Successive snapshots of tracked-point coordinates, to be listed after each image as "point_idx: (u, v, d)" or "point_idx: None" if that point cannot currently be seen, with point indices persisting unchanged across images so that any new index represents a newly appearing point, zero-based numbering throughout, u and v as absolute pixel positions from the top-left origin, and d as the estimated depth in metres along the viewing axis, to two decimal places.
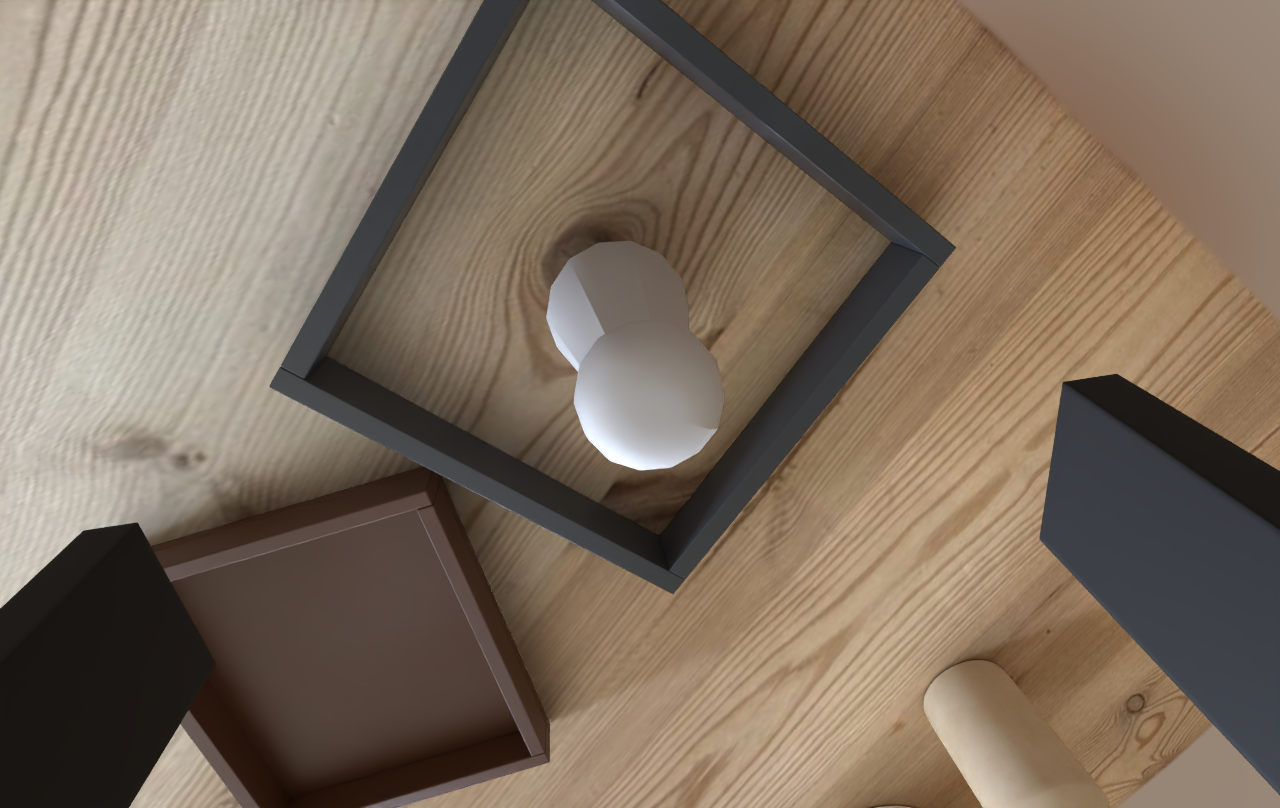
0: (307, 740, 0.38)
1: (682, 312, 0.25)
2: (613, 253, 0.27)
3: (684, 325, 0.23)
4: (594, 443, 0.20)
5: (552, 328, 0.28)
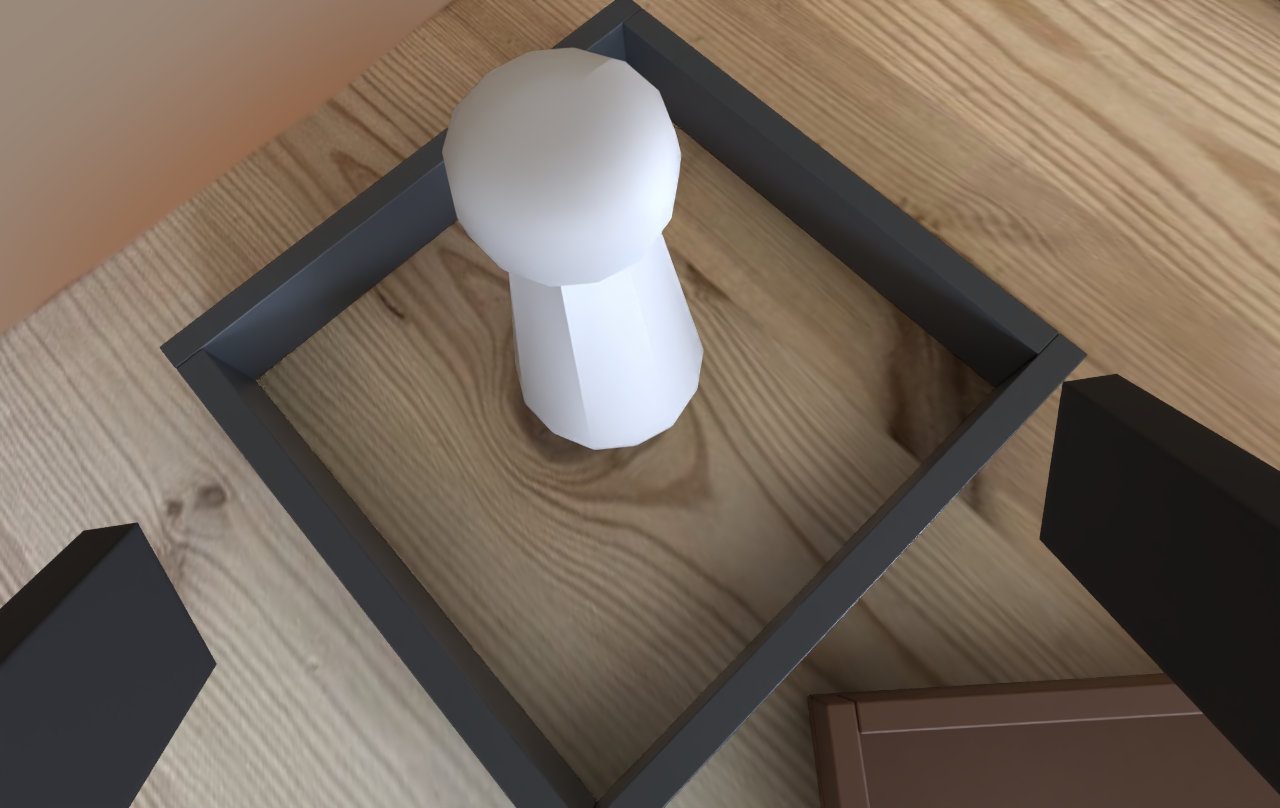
0: None
1: None
2: None
3: None
4: (595, 228, 0.12)
5: (597, 433, 0.20)
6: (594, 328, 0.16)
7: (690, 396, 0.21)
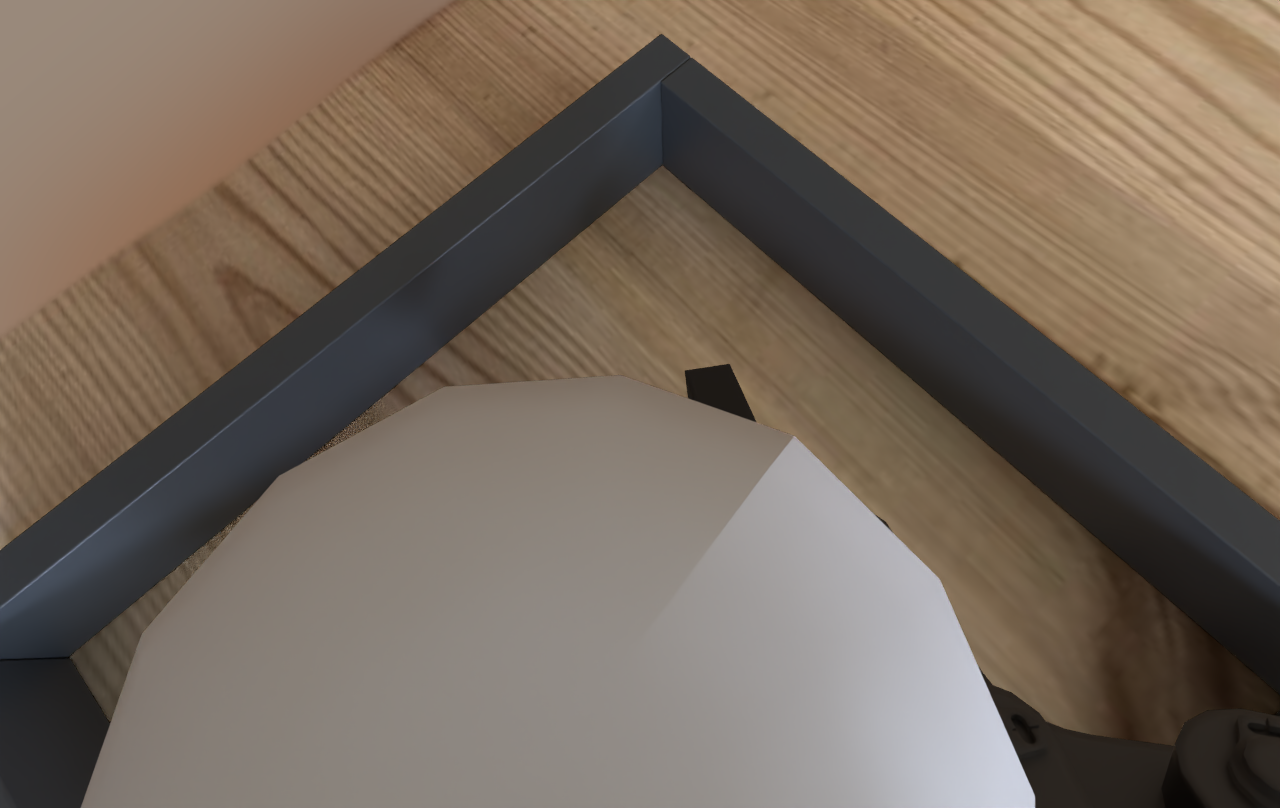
0: None
1: None
2: None
3: None
4: None
5: None
6: None
7: None
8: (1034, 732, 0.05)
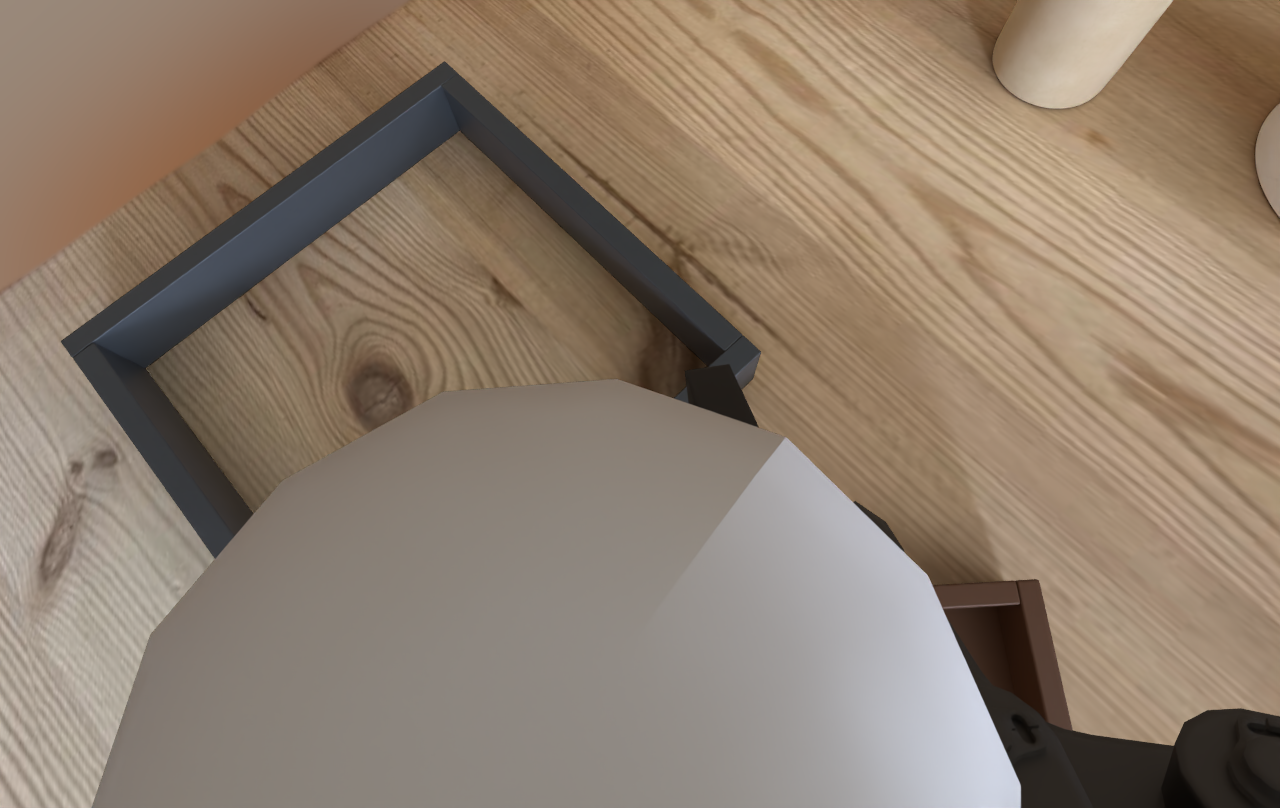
0: None
1: None
2: None
3: None
4: None
5: None
6: None
7: None
8: (1034, 734, 0.05)
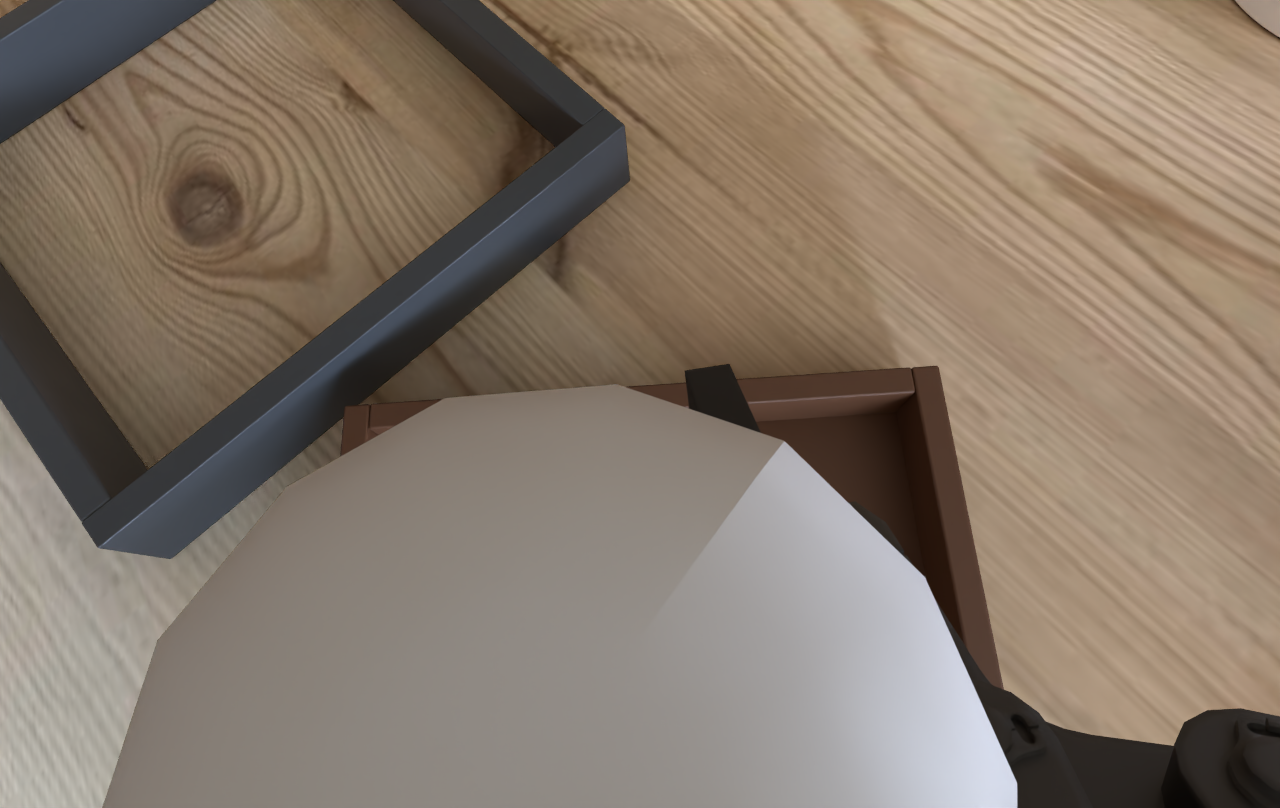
0: None
1: None
2: None
3: None
4: None
5: None
6: None
7: None
8: (1034, 734, 0.05)
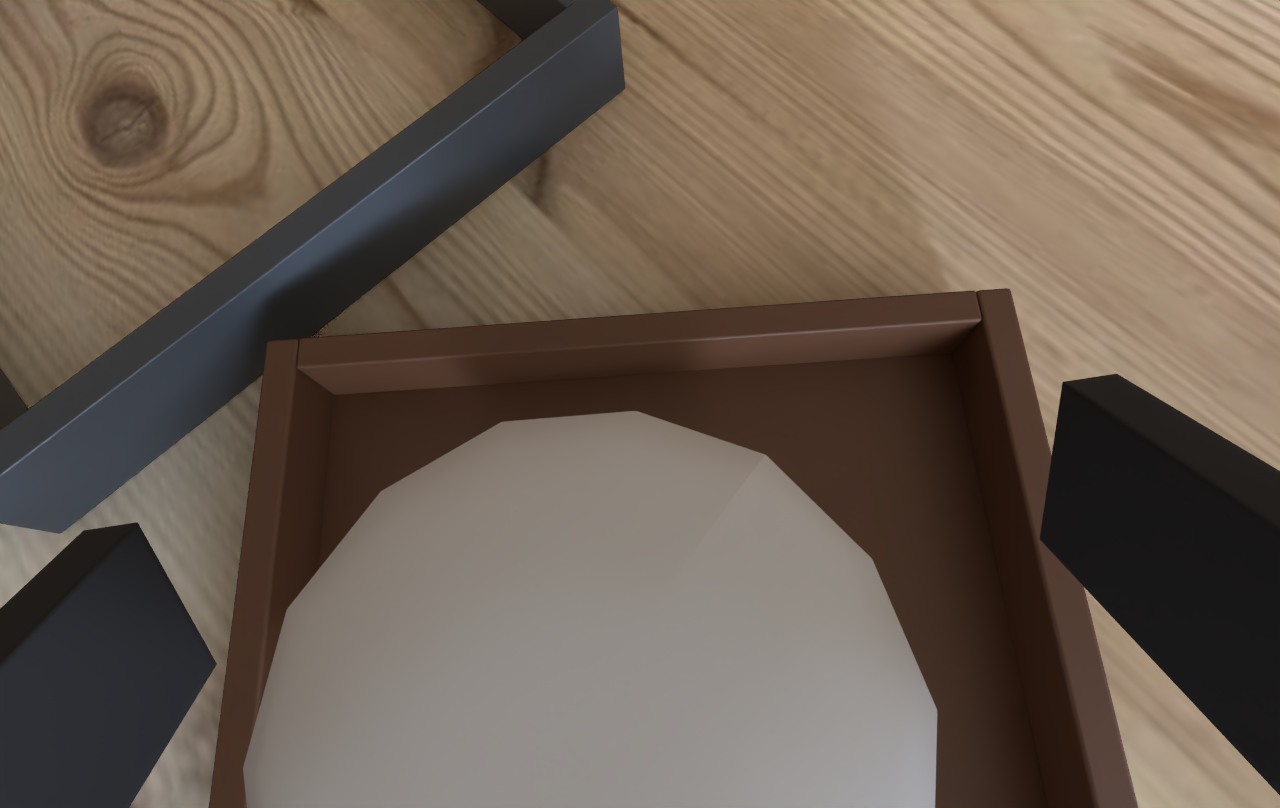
0: None
1: None
2: None
3: None
4: None
5: None
6: None
7: None
8: None
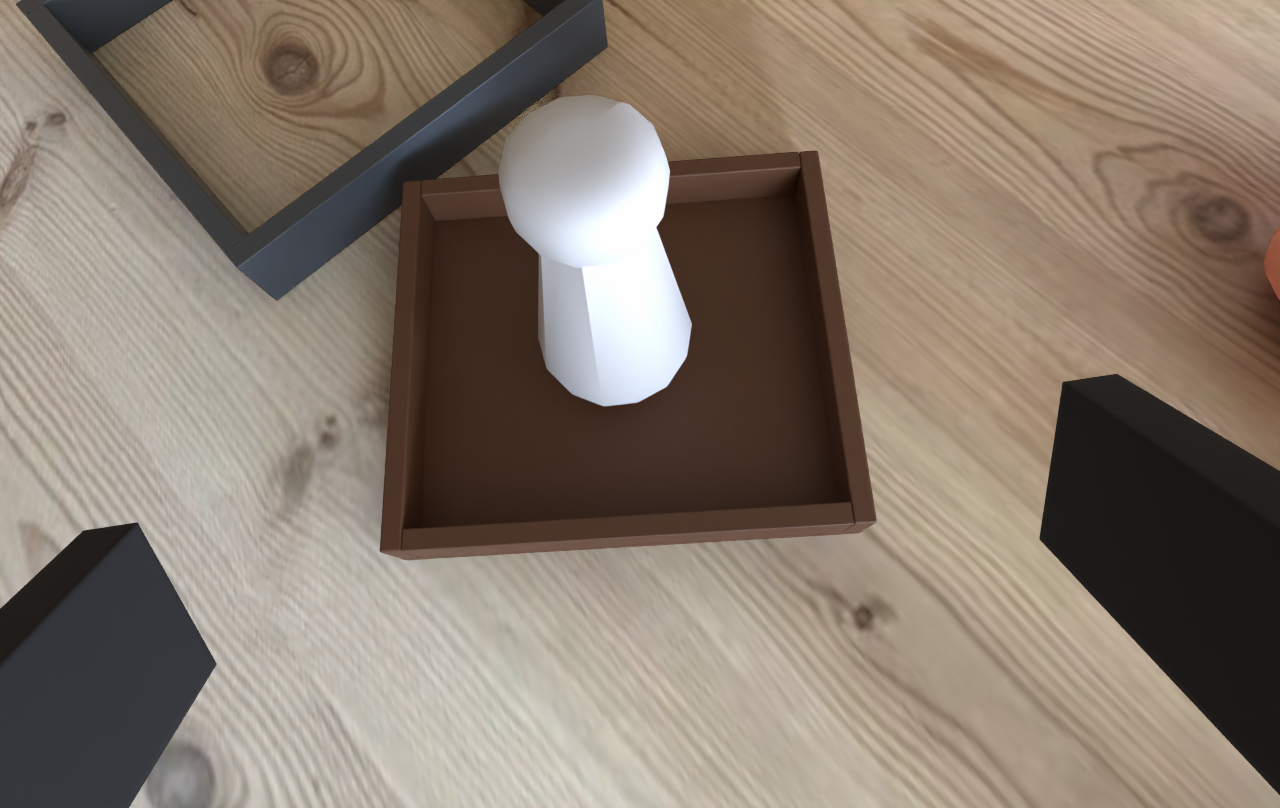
0: (737, 449, 0.28)
1: None
2: None
3: None
4: (609, 224, 0.17)
5: (606, 391, 0.25)
6: (606, 301, 0.21)
7: (681, 361, 0.26)
8: None
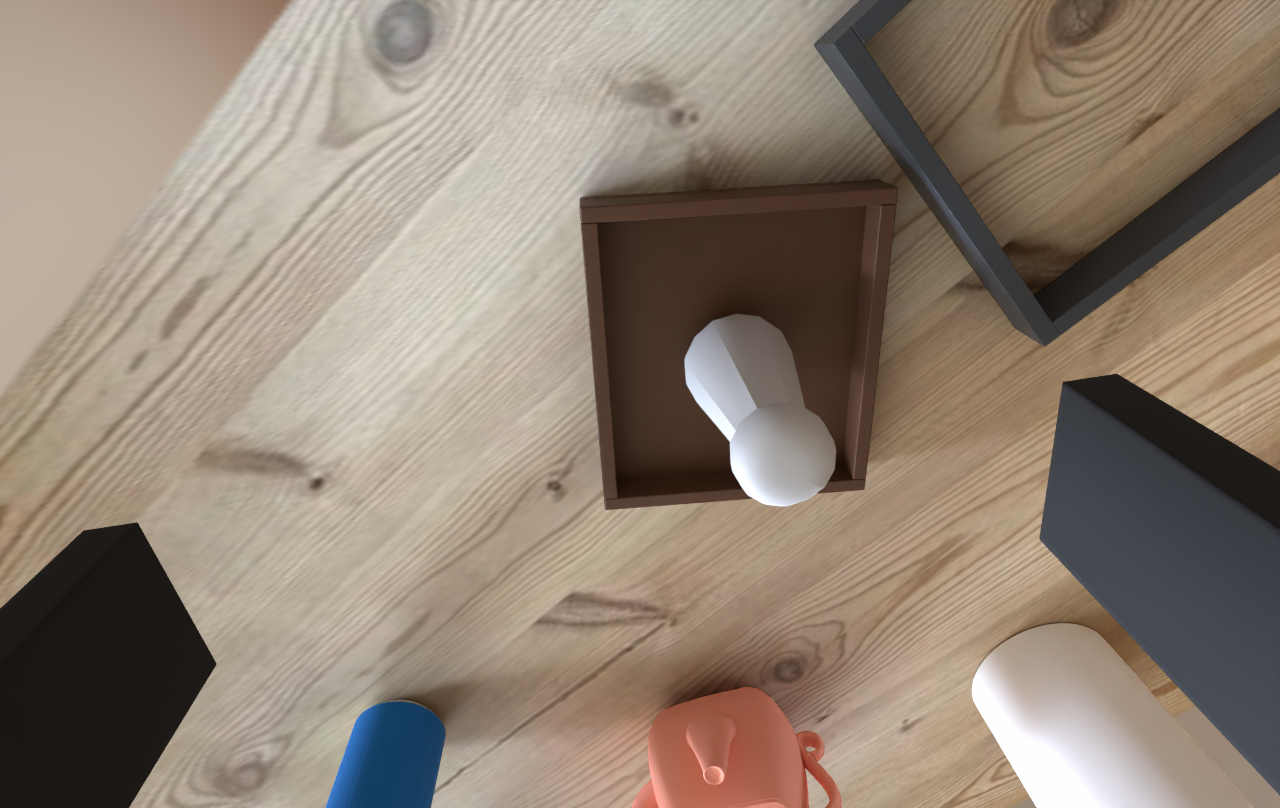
0: (657, 425, 0.42)
1: (799, 388, 0.33)
2: (751, 328, 0.35)
3: (802, 401, 0.32)
4: (741, 482, 0.29)
5: (690, 372, 0.36)
6: (726, 424, 0.32)
7: None
8: None
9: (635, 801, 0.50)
